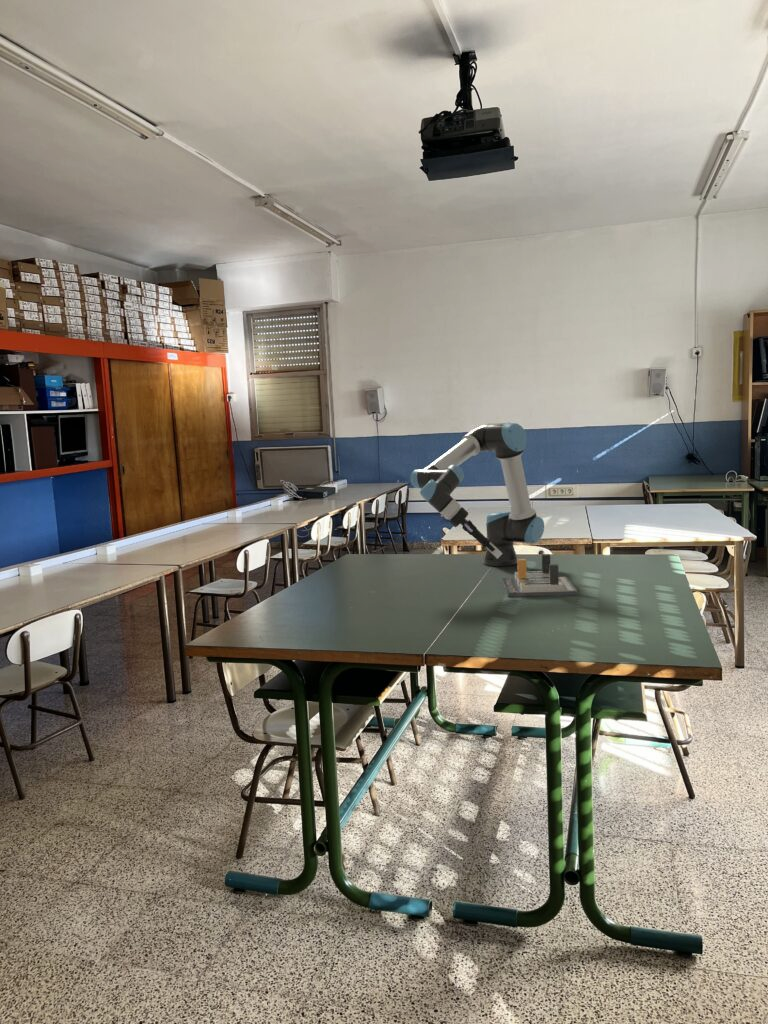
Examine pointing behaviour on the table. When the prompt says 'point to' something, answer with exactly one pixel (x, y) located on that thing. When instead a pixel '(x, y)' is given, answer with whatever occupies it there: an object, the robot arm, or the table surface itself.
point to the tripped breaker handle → (521, 568)
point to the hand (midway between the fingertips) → (499, 555)
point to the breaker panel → (539, 582)
